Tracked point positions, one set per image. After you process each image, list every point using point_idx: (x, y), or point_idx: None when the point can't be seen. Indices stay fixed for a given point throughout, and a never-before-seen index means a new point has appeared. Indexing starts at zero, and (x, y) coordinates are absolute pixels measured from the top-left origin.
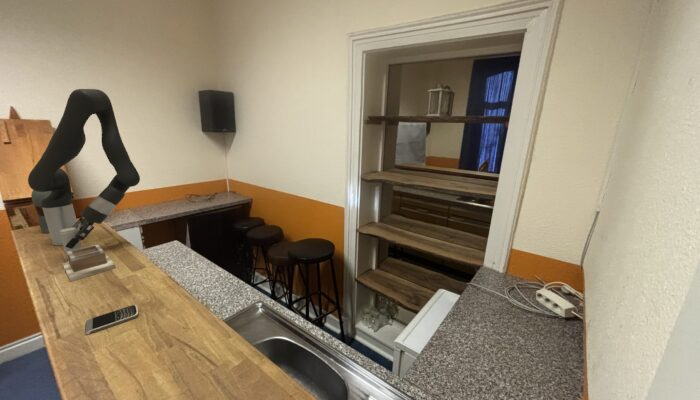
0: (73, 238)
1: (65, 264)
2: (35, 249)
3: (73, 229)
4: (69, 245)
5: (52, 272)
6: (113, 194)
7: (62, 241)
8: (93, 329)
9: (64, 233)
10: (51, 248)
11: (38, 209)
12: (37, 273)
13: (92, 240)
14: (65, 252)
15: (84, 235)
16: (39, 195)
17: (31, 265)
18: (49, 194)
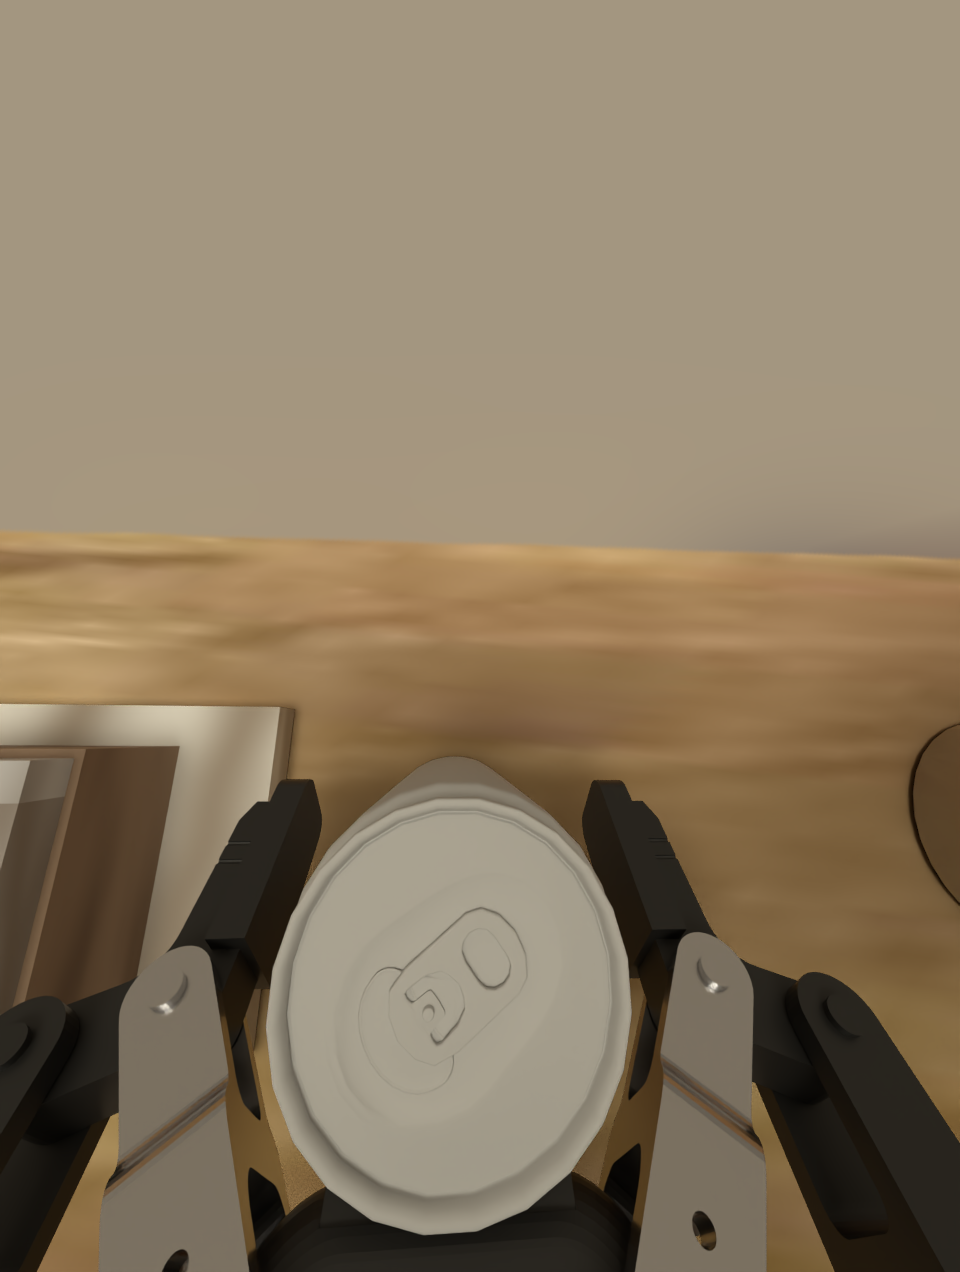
0: (209, 940)
1: (224, 722)
2: (932, 616)
3: (368, 1129)
4: (248, 821)
5: (247, 640)
6: None
7: (430, 770)
8: None
9: (322, 859)
10: (883, 702)
11: None
12: (327, 571)
13: (916, 1030)
14: (443, 760)
15: (36, 1208)
16: None
17: (546, 562)
18: None
